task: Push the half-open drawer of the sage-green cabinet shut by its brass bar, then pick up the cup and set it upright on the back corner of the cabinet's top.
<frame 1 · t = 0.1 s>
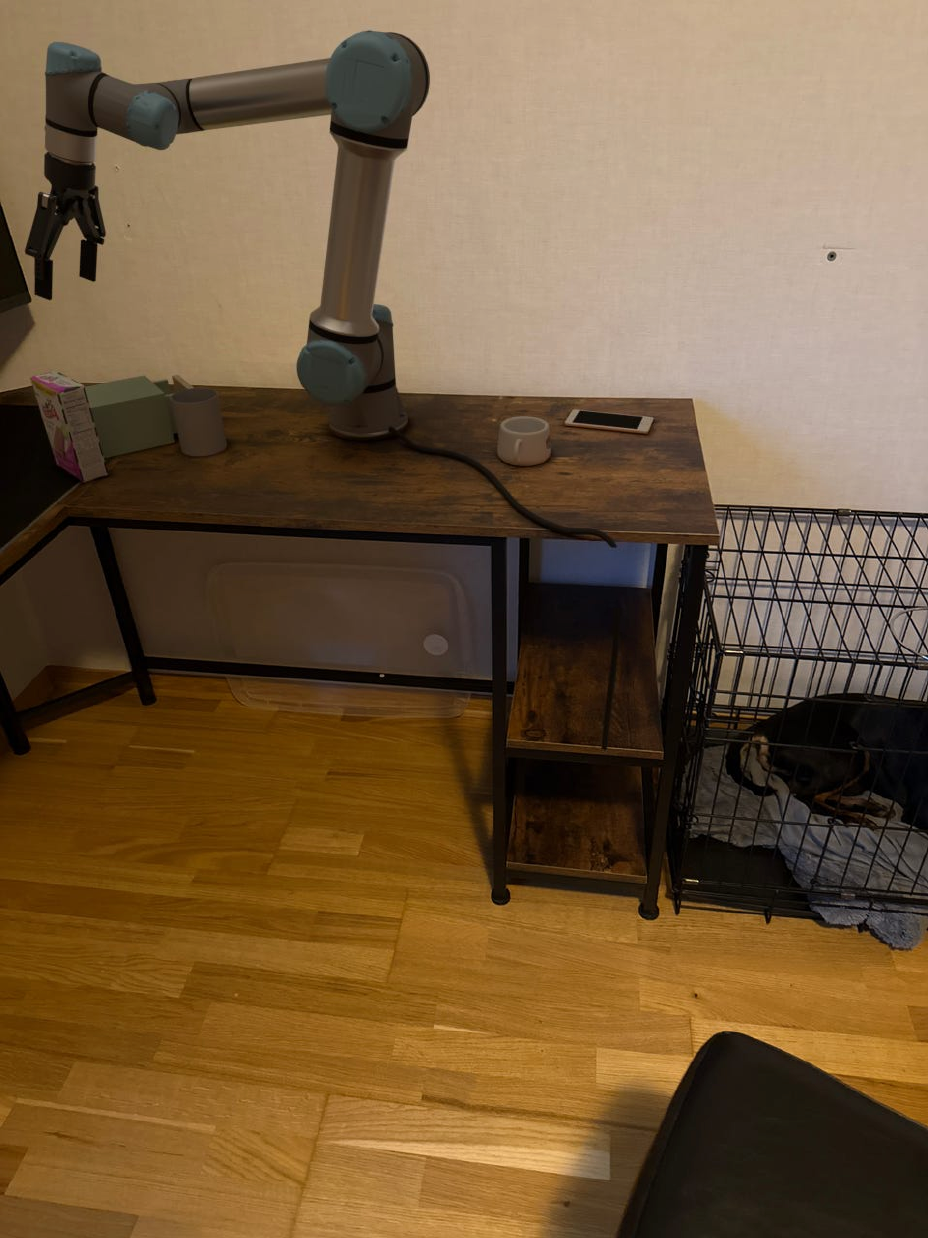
hand: (66, 287, 150), 28 cm above the table, tool tilted 20°, fingers open, 13 cm apart
drawer: (168, 406, 166), point 5 cm above the table, slide at 5.0 cm
cup: (204, 448, 161), on the table
candy bar box: (82, 472, 153), on the table
mug: (522, 460, 154), on the table
cabinet: (127, 440, 165), on the table
cell phone: (609, 423, 168), on the table
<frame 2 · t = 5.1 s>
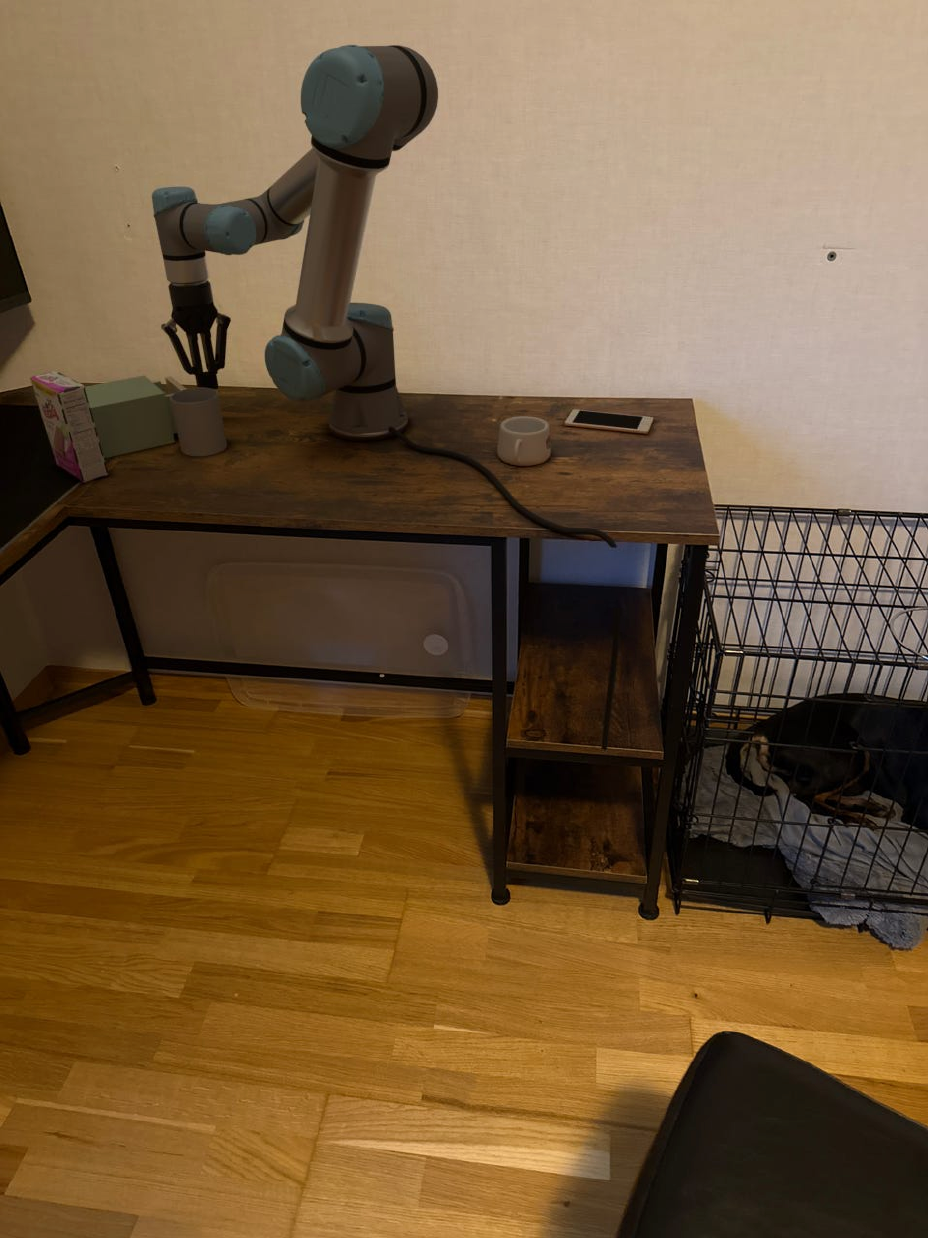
hand: (211, 405, 171), 3 cm above the table, tool pointing down, fingers closed
drawer: (161, 408, 165), point 5 cm above the table, slide at 3.6 cm, touching gripper
everything else where it was.
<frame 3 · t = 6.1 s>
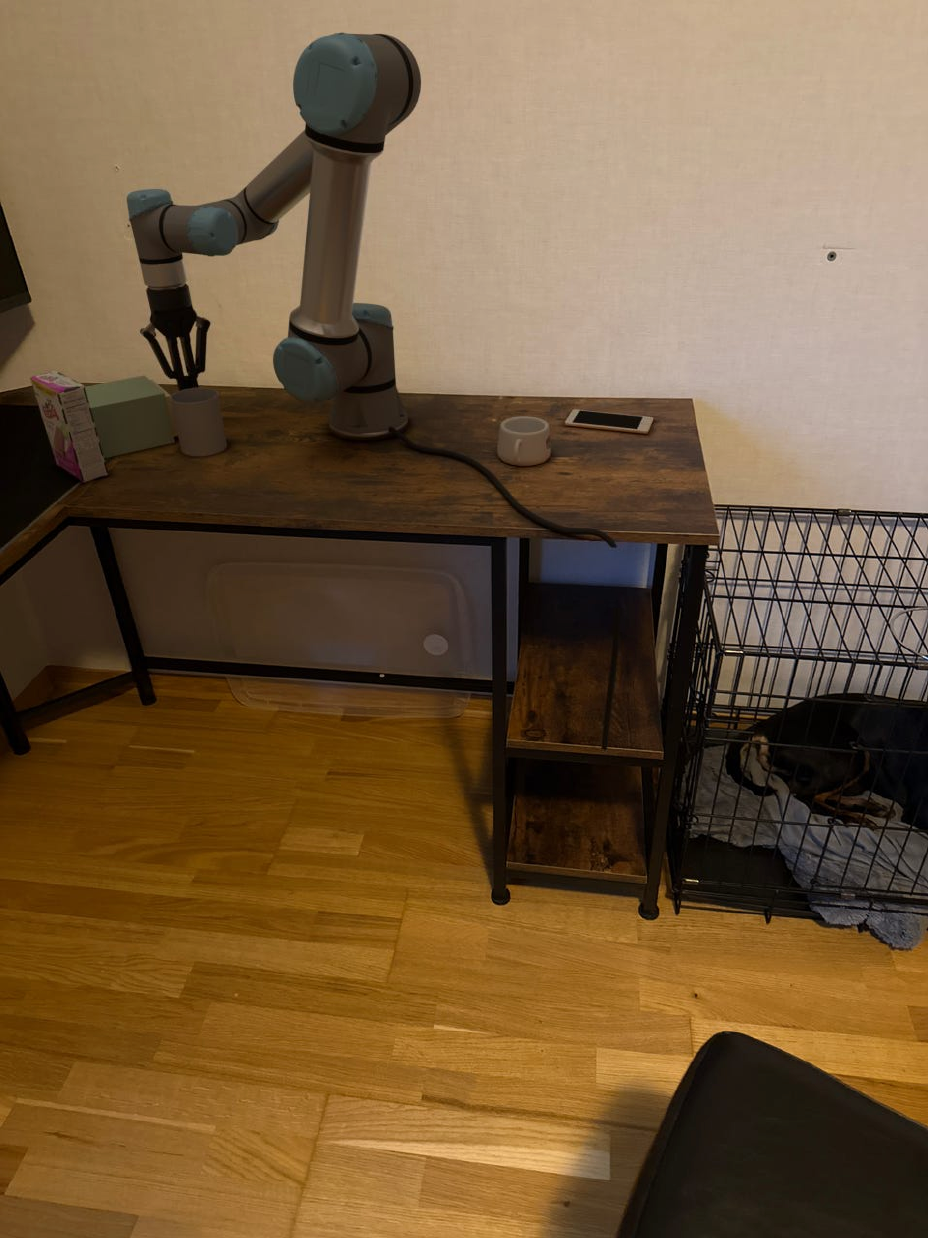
hand: (193, 410, 169), 3 cm above the table, tool pointing down, fingers closed
drawer: (142, 412, 164), point 5 cm above the table, slide at 0.0 cm, touching cabinet, gripper
everything else where it was.
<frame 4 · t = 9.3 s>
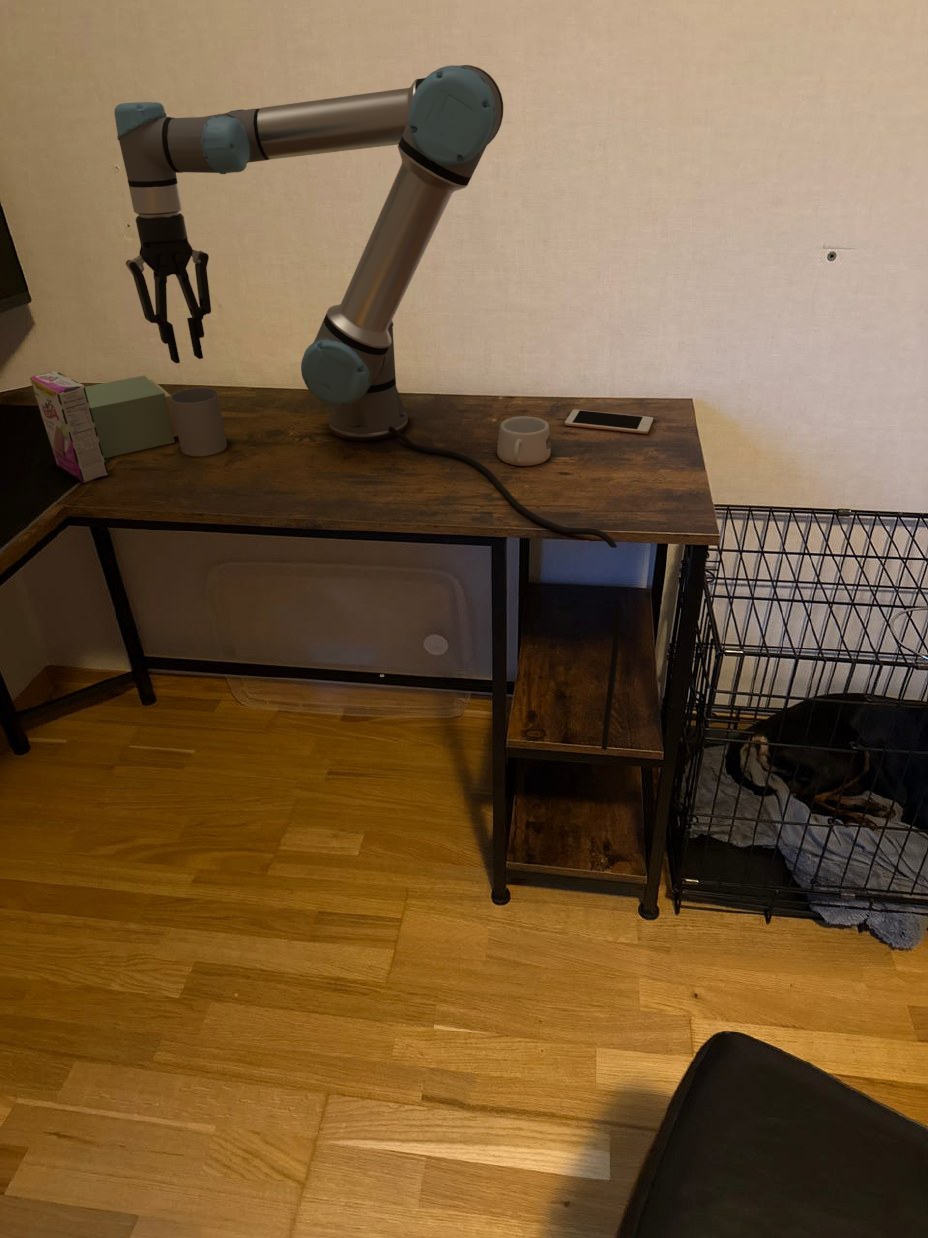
hand: (187, 358, 152), 17 cm above the table, tool pointing down, fingers open, 3 cm apart
drawer: (142, 412, 164), point 5 cm above the table, slide at 0.0 cm, touching cabinet
everything else where it was.
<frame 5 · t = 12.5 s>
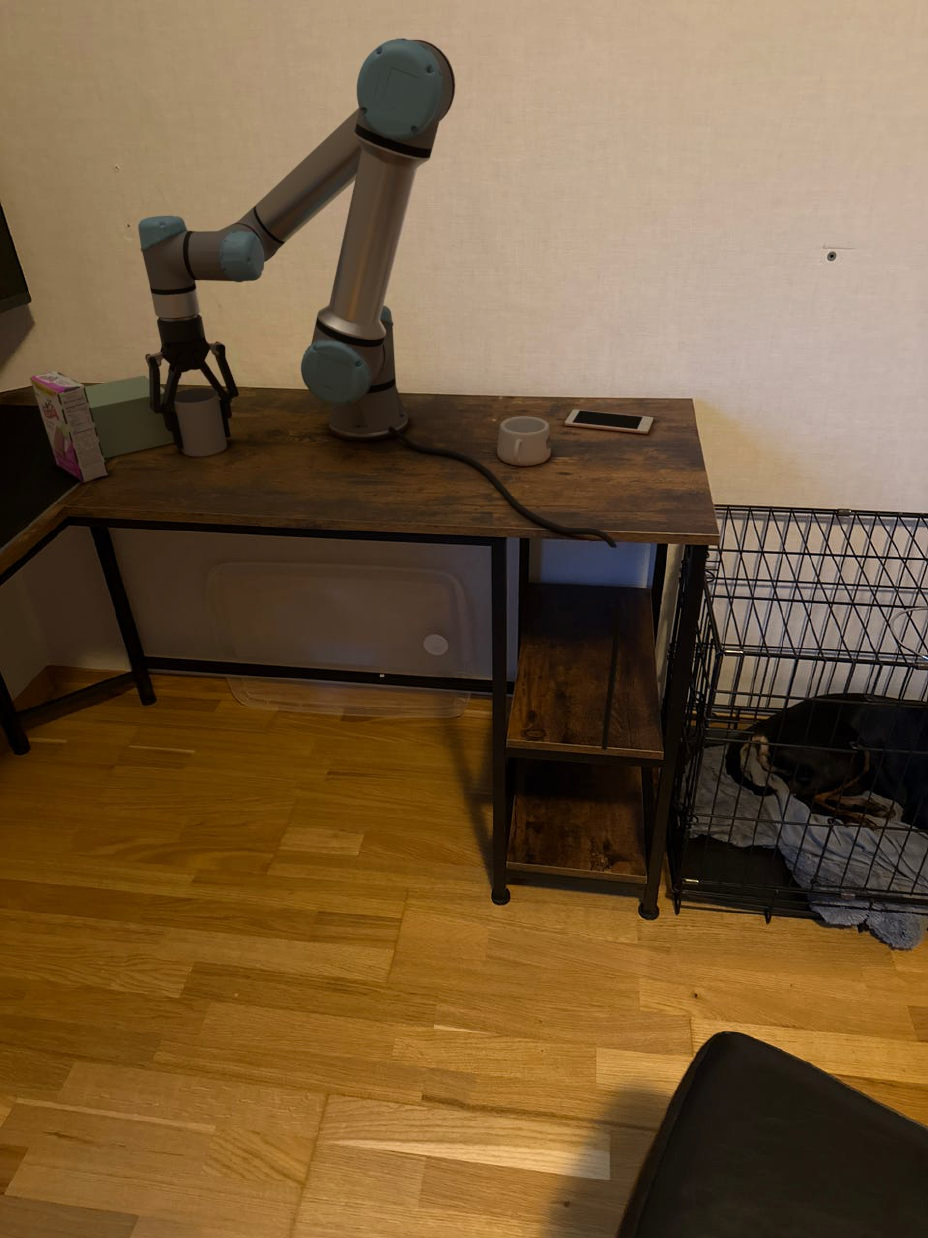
hand: (203, 440, 160), 1 cm above the table, tool pointing down, fingers closed on cup, 8 cm apart
cup: (204, 448, 161), on the table, touching gripper
everything else where it was.
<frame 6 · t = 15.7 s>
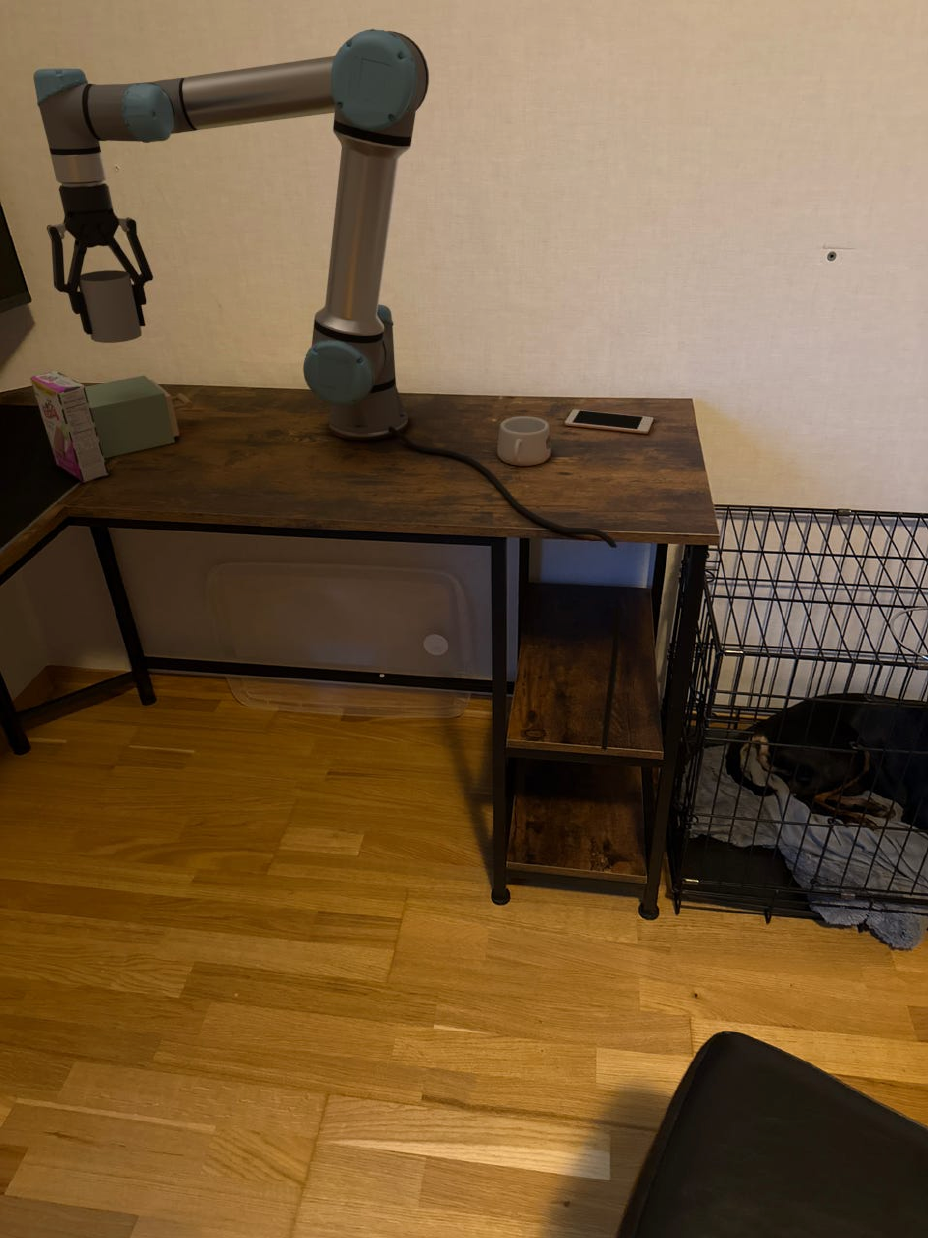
hand: (115, 328, 150), 22 cm above the table, tool pointing down, fingers closed on cup, 8 cm apart
cup: (117, 336, 150), point 20 cm above the table, touching gripper
everything else where it was.
when the fingers open (11 cm above the table, at t = 19.1 s): cup stays where it is, resting on cabinet.
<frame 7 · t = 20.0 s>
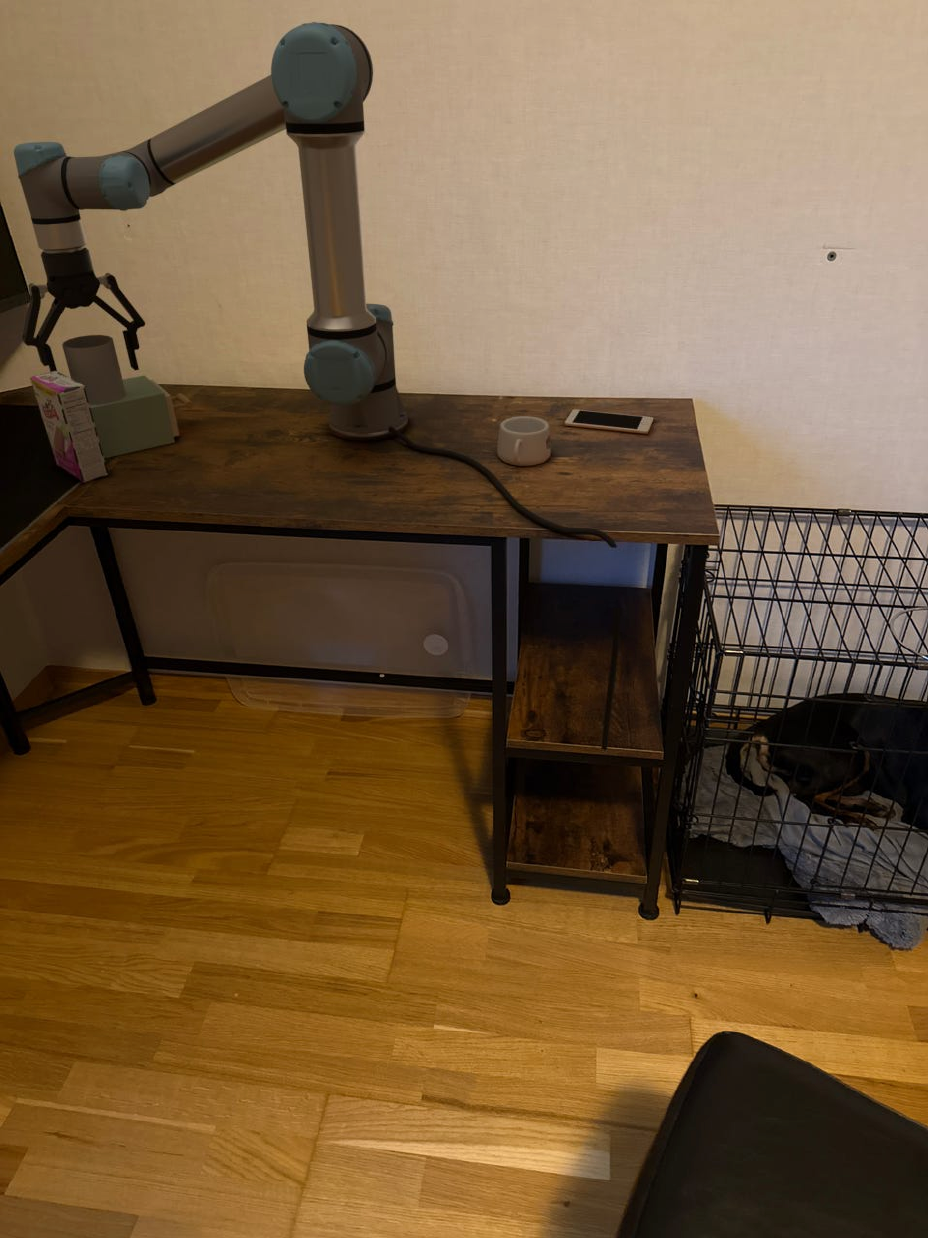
hand: (96, 375, 155), 14 cm above the table, tool pointing down, fingers open, 13 cm apart
cup: (102, 398, 157), point 9 cm above the table, touching cabinet
everything else where it was.
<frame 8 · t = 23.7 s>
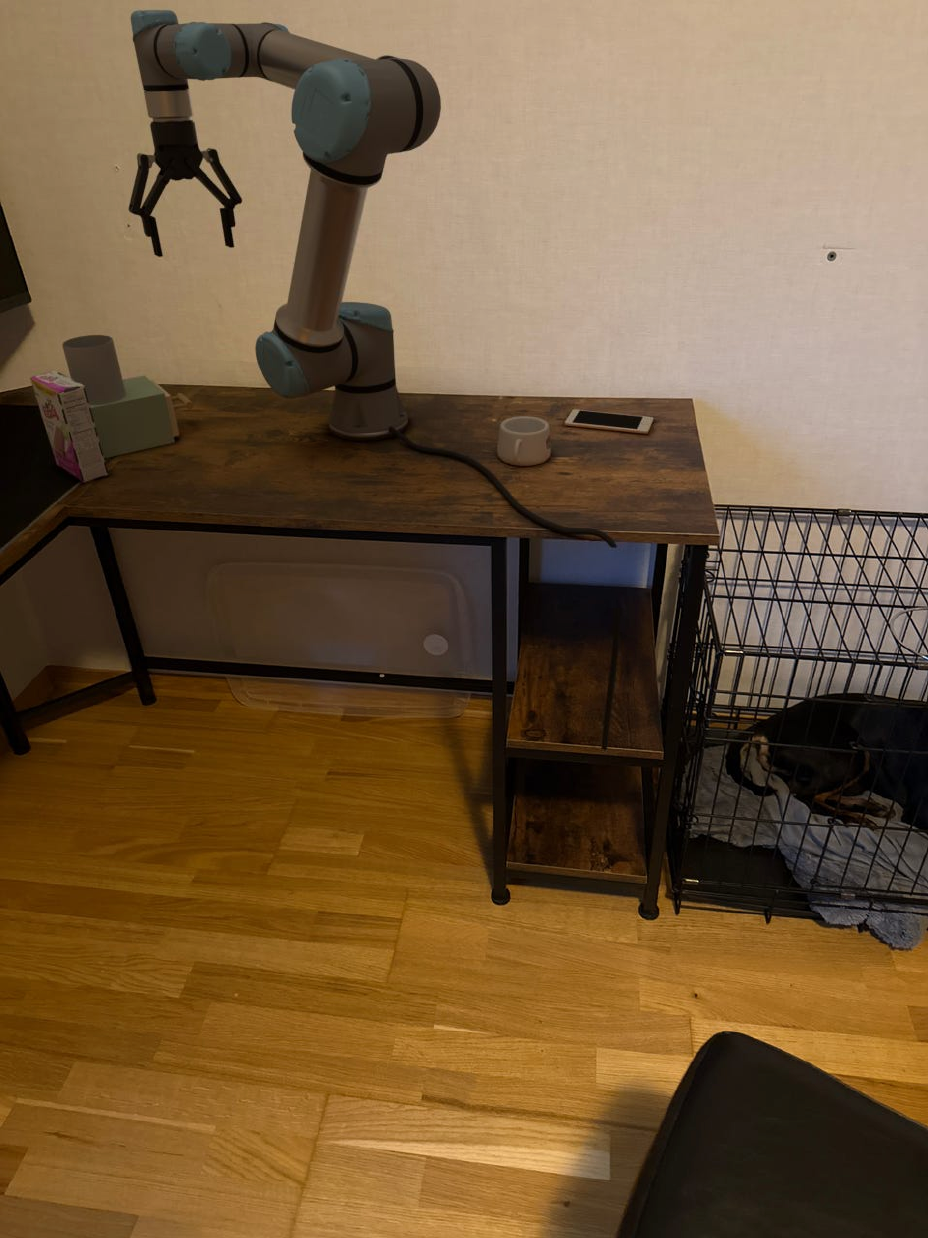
hand: (195, 251, 160), 31 cm above the table, tool pointing down, fingers open, 13 cm apart
nothing on the table moved.
at the end: drawer slide at 0.0 cm; cup 1.1 cm from the target spot on the cabinet, point 9.4 cm above the cabinet's base; cup tilted 0° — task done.
